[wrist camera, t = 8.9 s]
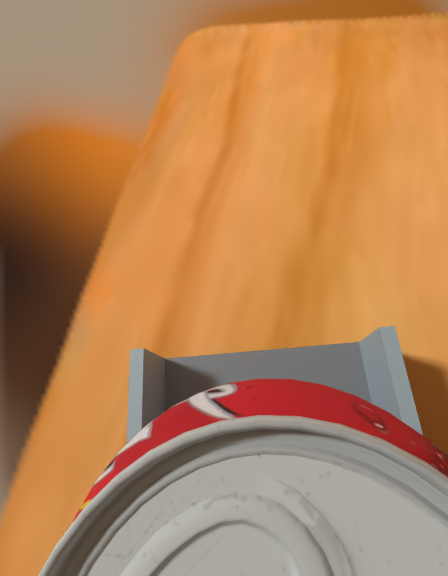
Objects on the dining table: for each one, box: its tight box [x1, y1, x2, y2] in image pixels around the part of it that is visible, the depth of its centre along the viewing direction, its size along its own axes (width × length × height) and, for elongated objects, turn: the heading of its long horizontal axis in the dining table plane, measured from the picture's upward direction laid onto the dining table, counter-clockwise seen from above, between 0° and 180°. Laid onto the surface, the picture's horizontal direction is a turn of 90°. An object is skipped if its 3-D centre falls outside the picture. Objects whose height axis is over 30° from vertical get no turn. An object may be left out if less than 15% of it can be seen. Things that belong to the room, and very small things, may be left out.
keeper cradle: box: [127, 326, 423, 444], centre depth 13 cm, size 11×11×4 cm
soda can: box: [38, 379, 448, 576], centre depth 8 cm, size 7×7×12 cm
